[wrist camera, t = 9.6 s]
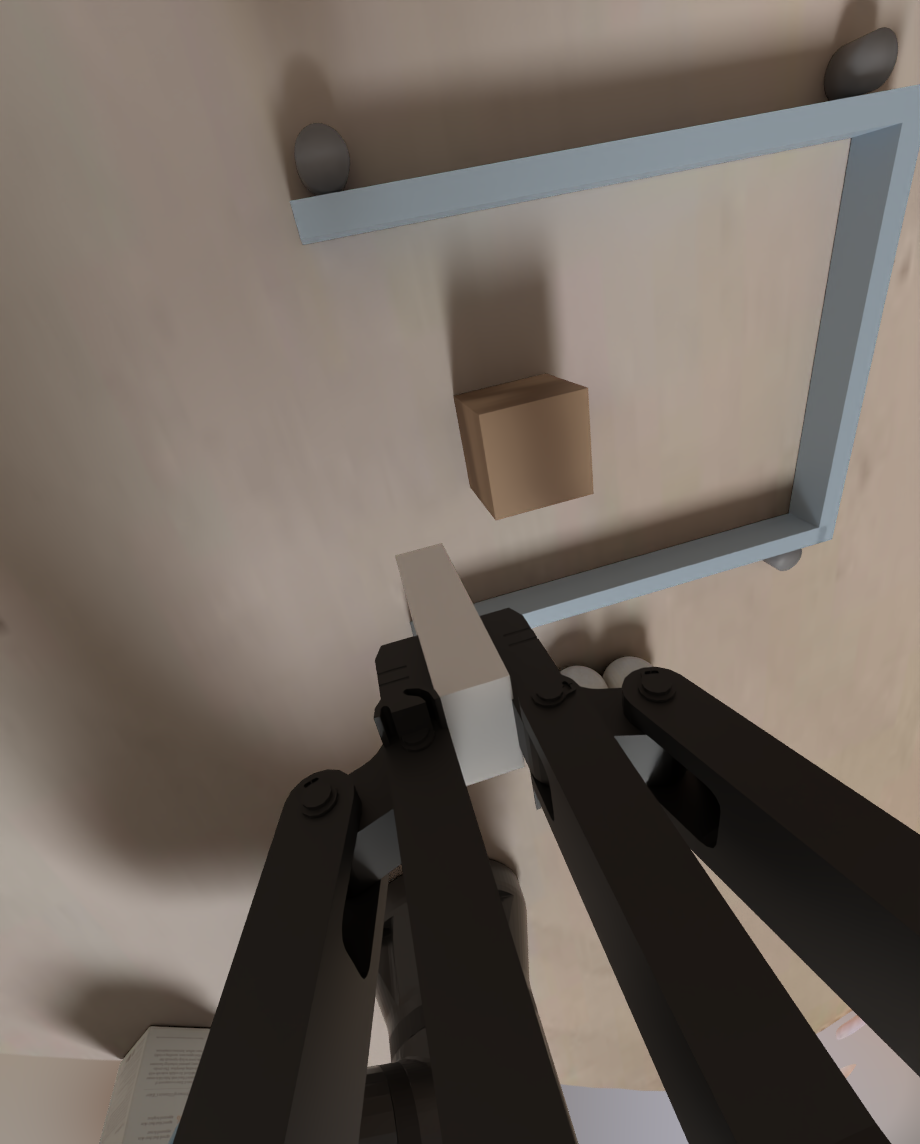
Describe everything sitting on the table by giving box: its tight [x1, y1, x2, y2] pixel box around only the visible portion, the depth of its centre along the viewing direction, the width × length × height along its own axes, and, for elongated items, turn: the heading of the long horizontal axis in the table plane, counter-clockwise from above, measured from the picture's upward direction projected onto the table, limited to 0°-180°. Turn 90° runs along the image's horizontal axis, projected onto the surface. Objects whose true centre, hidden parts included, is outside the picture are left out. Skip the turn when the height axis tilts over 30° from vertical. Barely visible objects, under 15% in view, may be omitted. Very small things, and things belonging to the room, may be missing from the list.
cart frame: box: [290, 27, 920, 636], centre depth 27 cm, size 28×27×2 cm
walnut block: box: [454, 373, 593, 520], centre depth 25 cm, size 5×5×5 cm
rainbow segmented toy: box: [560, 656, 653, 689], centre depth 36 cm, size 8×10×7 cm
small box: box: [99, 1026, 210, 1144], centre depth 42 cm, size 8×6×13 cm
